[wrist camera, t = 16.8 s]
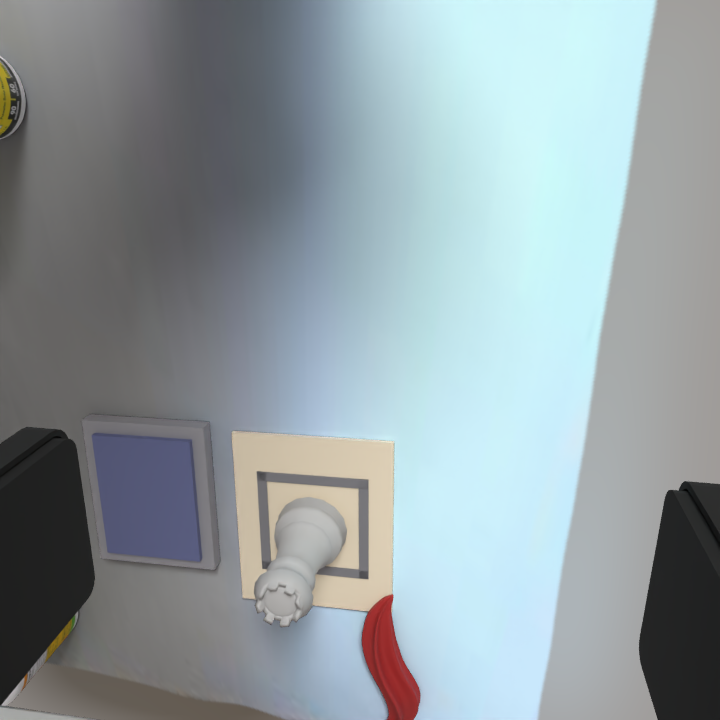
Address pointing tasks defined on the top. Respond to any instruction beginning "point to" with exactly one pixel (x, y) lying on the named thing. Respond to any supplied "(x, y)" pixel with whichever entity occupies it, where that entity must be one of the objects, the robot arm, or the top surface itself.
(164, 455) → the ink pad
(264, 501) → the print card
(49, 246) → the top surface
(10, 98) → the supplement bottle
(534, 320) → the top surface
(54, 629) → the robot arm
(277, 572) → the rook chess piece
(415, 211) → the top surface
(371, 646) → the cayenne pepper
